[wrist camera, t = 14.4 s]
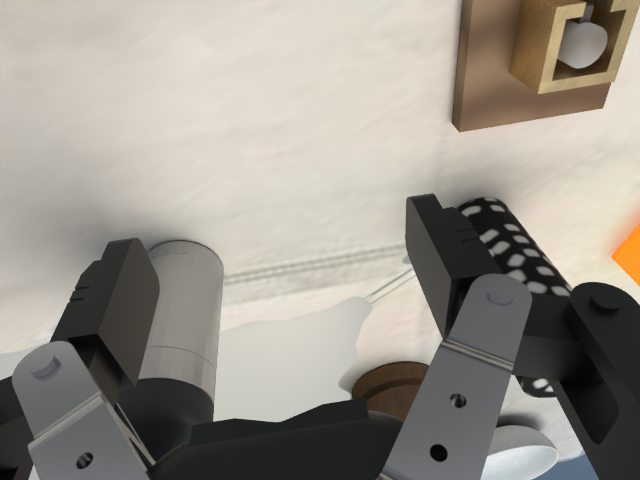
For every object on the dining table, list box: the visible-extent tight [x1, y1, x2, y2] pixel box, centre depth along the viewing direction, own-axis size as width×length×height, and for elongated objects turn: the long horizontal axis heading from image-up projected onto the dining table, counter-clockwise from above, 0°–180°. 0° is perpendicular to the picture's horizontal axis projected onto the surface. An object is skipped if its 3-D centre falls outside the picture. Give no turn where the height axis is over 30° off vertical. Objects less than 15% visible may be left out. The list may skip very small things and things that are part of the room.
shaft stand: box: [452, 0, 611, 132], centre depth 34 cm, size 16×14×7 cm
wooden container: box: [352, 362, 429, 421], centre depth 64 cm, size 15×15×22 cm
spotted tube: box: [456, 198, 573, 398], centre depth 44 cm, size 8×8×20 cm
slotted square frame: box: [509, 0, 640, 94], centre depth 34 cm, size 6×6×5 cm
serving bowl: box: [480, 425, 559, 480], centre depth 88 cm, size 21×21×7 cm
